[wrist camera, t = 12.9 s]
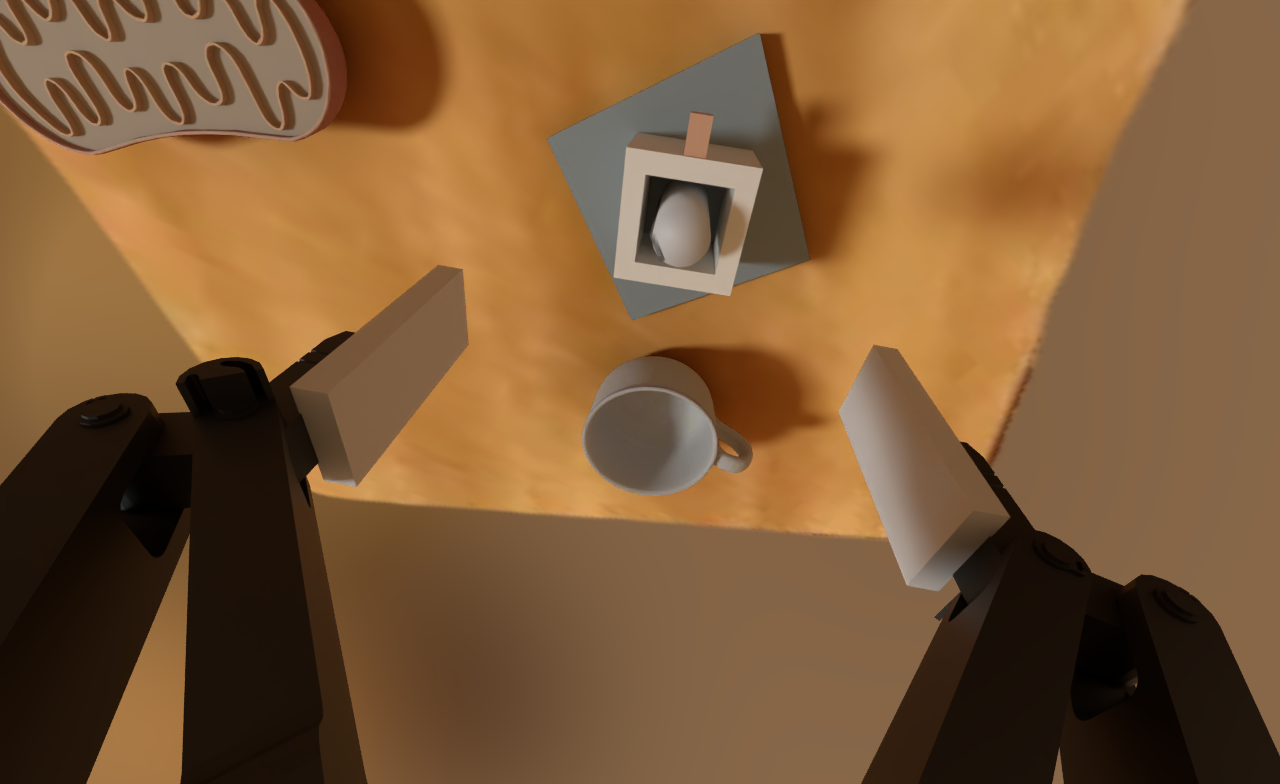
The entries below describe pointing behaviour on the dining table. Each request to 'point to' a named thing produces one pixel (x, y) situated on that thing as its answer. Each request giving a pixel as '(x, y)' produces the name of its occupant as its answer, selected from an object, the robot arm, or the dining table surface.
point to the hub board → (670, 118)
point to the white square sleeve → (693, 165)
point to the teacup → (658, 429)
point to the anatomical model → (169, 69)
